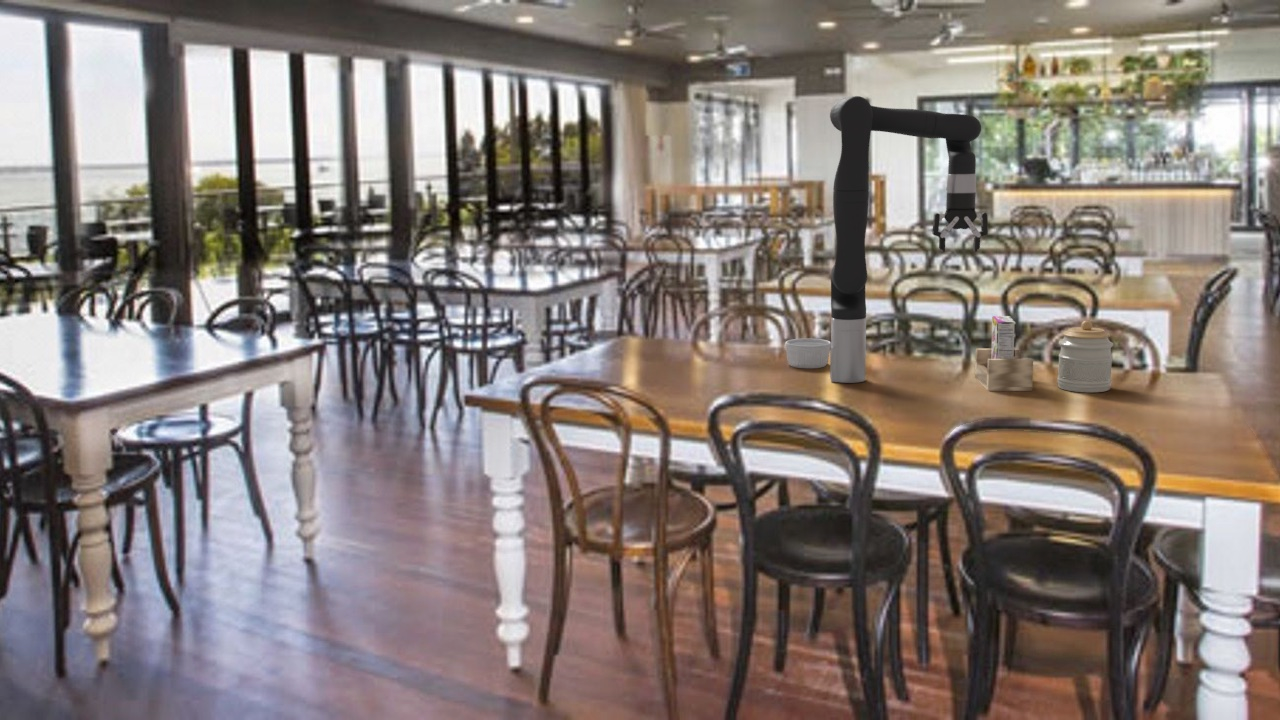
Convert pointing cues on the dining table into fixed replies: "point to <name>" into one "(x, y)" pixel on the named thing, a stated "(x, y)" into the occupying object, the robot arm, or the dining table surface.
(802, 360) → the ramekin
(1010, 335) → the candy bar box
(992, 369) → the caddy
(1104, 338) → the jar
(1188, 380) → the dining table surface
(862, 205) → the robot arm
